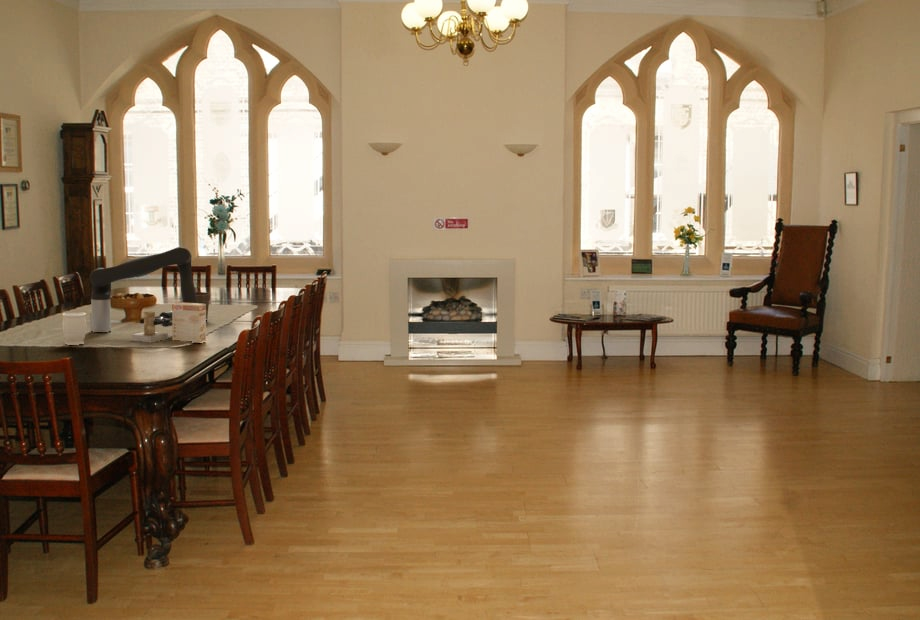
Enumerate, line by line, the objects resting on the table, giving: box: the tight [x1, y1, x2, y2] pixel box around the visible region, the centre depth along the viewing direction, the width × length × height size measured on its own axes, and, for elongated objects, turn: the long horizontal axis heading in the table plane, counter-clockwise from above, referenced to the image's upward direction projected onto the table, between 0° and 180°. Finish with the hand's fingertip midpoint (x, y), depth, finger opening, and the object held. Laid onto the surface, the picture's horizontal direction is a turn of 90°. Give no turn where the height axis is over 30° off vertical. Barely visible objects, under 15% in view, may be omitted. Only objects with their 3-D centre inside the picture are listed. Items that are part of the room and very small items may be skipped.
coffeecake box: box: [171, 301, 207, 342], centre depth 440 cm, size 15×7×20 cm, turn 74°
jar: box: [61, 311, 87, 346], centre depth 424 cm, size 11×10×15 cm
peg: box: [143, 310, 156, 335], centre depth 438 cm, size 4×4×14 cm
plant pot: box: [195, 291, 212, 320], centre depth 510 cm, size 16×16×16 cm
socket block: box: [130, 331, 169, 344], centre depth 438 cm, size 12×12×4 cm
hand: (147, 322), depth 436 cm, fingers open, 8 cm apart
